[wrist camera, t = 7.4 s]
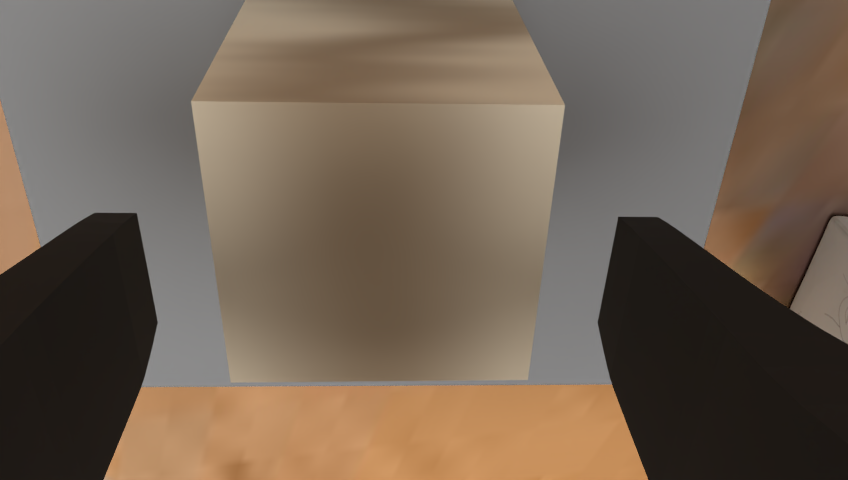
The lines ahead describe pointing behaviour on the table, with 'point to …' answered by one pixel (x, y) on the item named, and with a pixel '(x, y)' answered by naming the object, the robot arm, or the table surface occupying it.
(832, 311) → the small box
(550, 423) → the table surface
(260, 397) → the table surface
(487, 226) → the maple block
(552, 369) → the slate plinth
